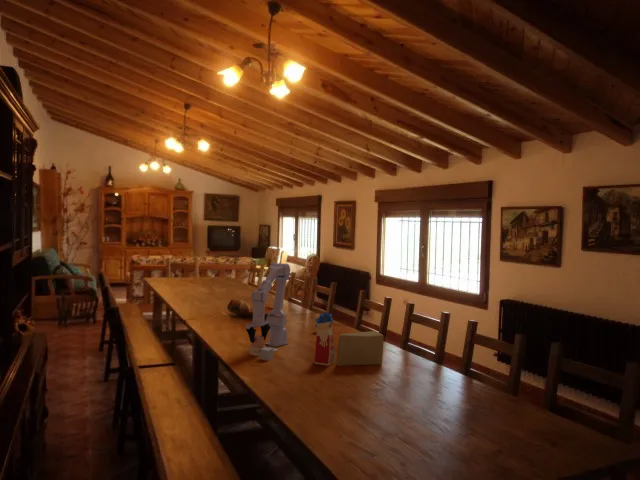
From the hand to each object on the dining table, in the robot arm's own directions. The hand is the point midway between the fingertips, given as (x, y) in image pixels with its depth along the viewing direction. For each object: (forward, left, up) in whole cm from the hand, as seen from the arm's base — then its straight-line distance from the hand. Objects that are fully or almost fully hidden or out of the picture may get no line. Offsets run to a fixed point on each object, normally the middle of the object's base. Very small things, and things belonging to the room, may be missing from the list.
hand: (257, 340), depth 243 cm
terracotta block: (0, 0, -3) cm, 3 cm away
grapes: (-62, -10, -7) cm, 63 cm away
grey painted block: (+2, +9, -7) cm, 11 cm away
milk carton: (-15, +31, -7) cm, 35 cm away
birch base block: (0, 0, -7) cm, 7 cm away
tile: (-9, -1, -7) cm, 11 cm away
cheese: (-26, +44, -7) cm, 51 cm away
